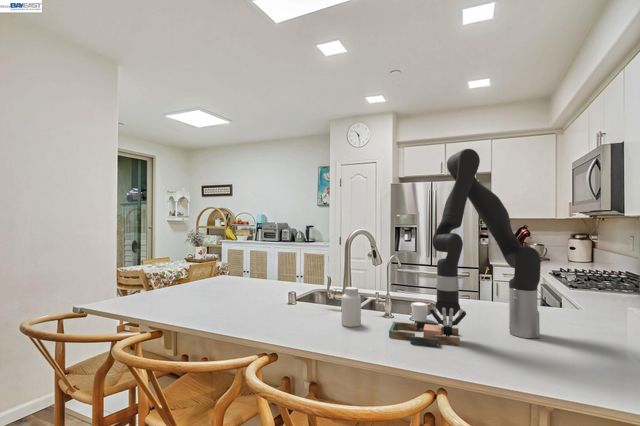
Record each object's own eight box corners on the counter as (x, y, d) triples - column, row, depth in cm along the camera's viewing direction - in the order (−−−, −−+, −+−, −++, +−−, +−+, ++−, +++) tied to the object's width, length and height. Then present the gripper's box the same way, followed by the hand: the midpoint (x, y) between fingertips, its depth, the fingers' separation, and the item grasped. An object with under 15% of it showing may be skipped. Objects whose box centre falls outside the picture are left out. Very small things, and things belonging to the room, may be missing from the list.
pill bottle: (364, 324, 142) (364, 287, 142) (353, 328, 136) (352, 290, 136) (349, 320, 147) (349, 285, 147) (337, 324, 141) (337, 288, 142)
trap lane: (458, 331, 133) (457, 324, 133) (460, 350, 114) (460, 342, 114) (394, 324, 141) (394, 318, 141) (387, 341, 122) (387, 334, 122)
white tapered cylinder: (428, 322, 144) (428, 306, 144) (411, 321, 145) (411, 305, 145) (427, 318, 150) (426, 302, 151) (410, 317, 152) (410, 301, 152)
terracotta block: (441, 336, 128) (441, 325, 128) (441, 342, 121) (441, 331, 121) (424, 334, 130) (424, 324, 130) (423, 340, 123) (423, 329, 123)
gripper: (466, 287, 126) (466, 334, 126) (428, 284, 131) (429, 330, 130) (468, 291, 119) (468, 341, 119) (428, 288, 124) (428, 337, 123)
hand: (447, 335), depth 125 cm, fingers closed
